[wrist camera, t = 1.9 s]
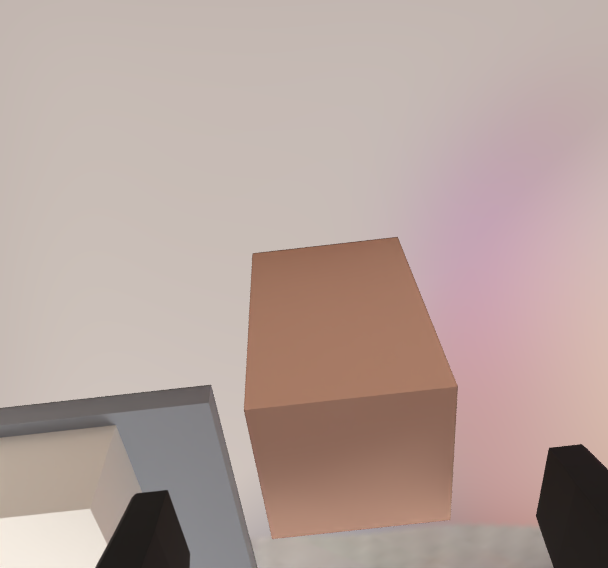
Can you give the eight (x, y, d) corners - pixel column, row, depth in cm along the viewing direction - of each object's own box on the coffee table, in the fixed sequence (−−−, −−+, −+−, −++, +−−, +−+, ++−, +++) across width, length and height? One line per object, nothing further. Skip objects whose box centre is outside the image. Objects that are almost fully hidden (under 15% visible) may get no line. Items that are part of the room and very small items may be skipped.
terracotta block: (397, 236, 16) (457, 386, 11) (399, 350, 18) (450, 519, 13) (252, 253, 16) (243, 409, 11) (271, 364, 18) (271, 539, 13)
